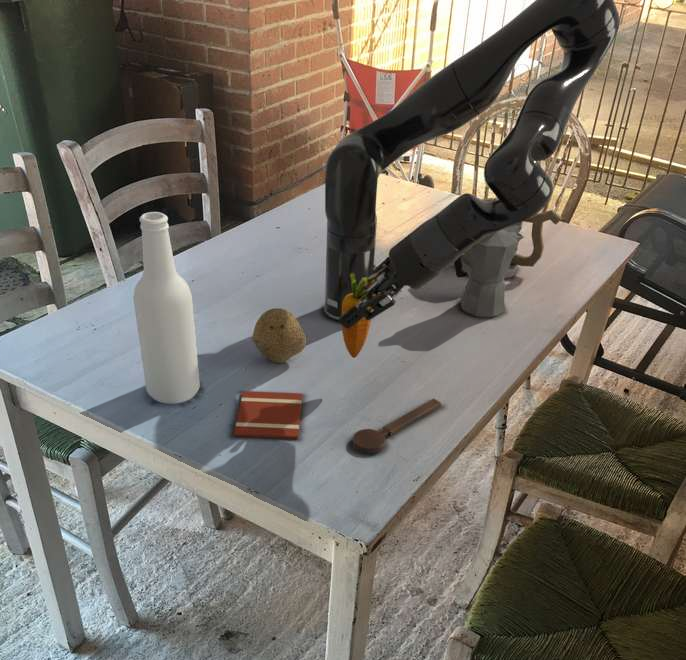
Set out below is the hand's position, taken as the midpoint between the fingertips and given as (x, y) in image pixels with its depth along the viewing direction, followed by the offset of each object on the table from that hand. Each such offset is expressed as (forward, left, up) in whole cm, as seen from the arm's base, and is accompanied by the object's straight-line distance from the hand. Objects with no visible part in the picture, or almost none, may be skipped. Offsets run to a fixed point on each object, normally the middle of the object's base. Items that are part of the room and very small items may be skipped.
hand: (345, 315), depth 123 cm
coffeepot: (-40, -6, -13) cm, 43 cm away
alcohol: (+25, -15, -13) cm, 32 cm away
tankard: (-58, -15, -13) cm, 62 cm away
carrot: (-1, +1, -8) cm, 8 cm away
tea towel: (+16, +1, -13) cm, 20 cm away
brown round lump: (+5, -13, -13) cm, 19 cm away
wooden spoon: (+1, +15, -13) cm, 20 cm away
